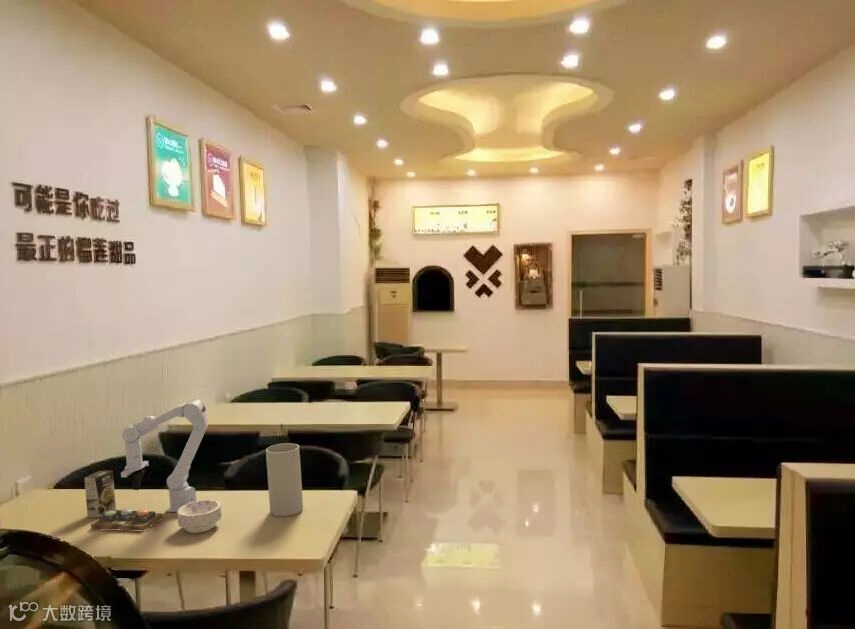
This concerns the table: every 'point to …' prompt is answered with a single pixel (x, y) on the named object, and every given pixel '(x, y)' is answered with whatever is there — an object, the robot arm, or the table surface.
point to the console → (126, 521)
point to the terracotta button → (143, 513)
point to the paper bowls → (199, 515)
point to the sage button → (110, 513)
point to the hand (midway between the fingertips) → (136, 489)
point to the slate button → (126, 512)
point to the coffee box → (99, 493)
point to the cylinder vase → (284, 479)
